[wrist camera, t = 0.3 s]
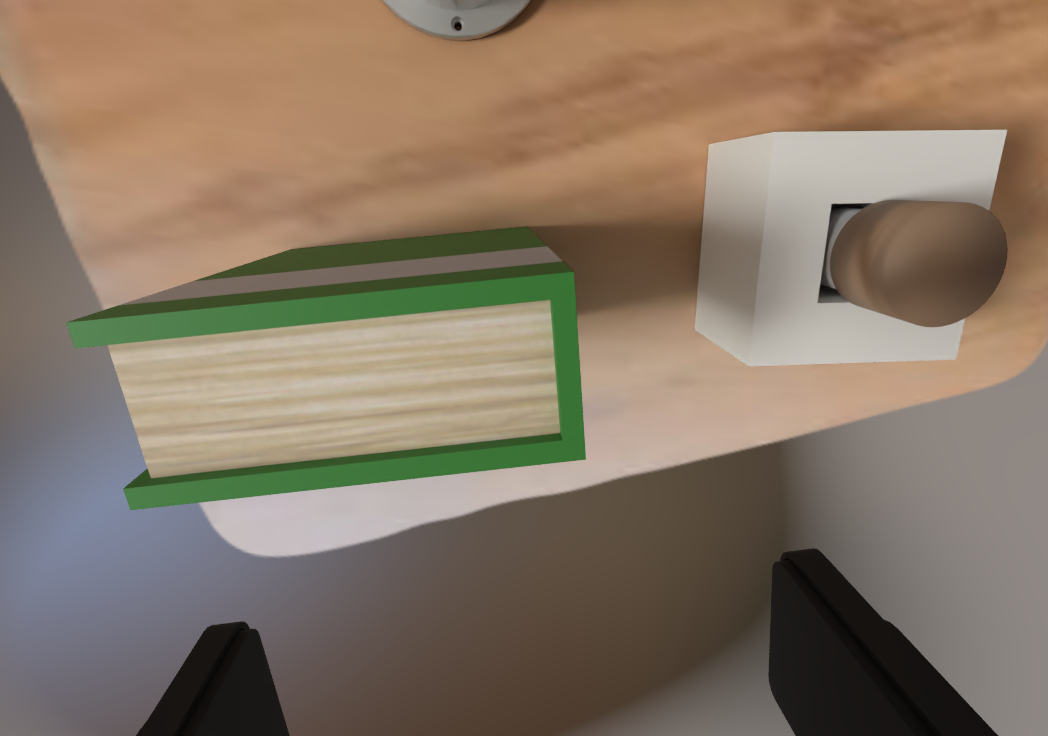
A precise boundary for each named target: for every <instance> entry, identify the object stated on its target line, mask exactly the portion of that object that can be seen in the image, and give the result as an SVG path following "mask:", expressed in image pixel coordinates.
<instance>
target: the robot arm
mask: <svg viewBox="0 0 1048 736" xmlns="http://www.w3.org/2000/svg"><path fill="white" fill-rule="evenodd" d="M382 1H383V2H384V3H385V4H386V5H387V6H388V7H389V9H390V10H391V11H392V12H393V13H394V14H395V15H396V16H397V17H399V18H400V19H401V20H403V21H404V22H405V23H407V24H408V25H409V26H411V27H412V28H414V29H416V30H418V31H420V32H422V33H424V34H426V35H429V36H433V37H437V38H440V39H444V40H458V41H465V40H471V39H477V38H482V37H484V36H487V35H489V34H492V33H494V32H497V31H499V30H500V29H502V28H503V27H505V26H506V25H508V24H509V23H511V22H512V21H513V20H514V19H515V18H516V17H517V16H518V15H519V14H520V13H521V12H522V11H523V10H524V9H525V8H526V7H527V5H528V4H529V2H530V1H531V0H382ZM457 23H459V24H461V25H462V29H461V30H459V31H457V30H455V29H454V26H455V24H457ZM769 651H770V652H769V683H770V687H771V691H772V693H773V696H774V698H775V700H776V702H777V704H778V705H779V707H780V709H781V710H782V713H783V714H784V716H785V718H786V720H787V721H788V723H789V725H790V727H791V728H792V730H793V732H794V734H795V735H796V736H998V735H997V734H996V733H995V732H994V731H993V730H992V729H991V728H990V727H989V726H988V724H987V723H986V722H985V721H984V720H983V719H982V718H981V717H980V716H979V715H978V714H977V713H976V712H975V711H974V710H973V708H972V707H970V705H969V704H968V703H967V702H966V701H965V700H964V699H963V698H962V697H961V696H960V695H959V694H958V692H957V691H956V690H955V689H954V688H953V687H952V686H951V685H950V684H949V683H948V682H947V681H946V680H945V679H944V678H943V677H942V675H941V674H940V673H939V672H938V671H937V670H936V669H935V668H934V667H933V666H932V665H931V664H930V663H929V662H928V660H927V659H926V658H925V657H924V656H923V655H922V654H921V653H920V652H919V651H918V650H917V649H916V648H915V647H914V646H913V645H912V643H911V642H910V641H909V640H908V639H907V638H906V637H905V636H904V635H903V634H902V633H901V632H900V631H899V630H898V629H897V628H896V627H895V626H894V625H893V624H891V623H890V622H888V621H886V620H883V619H882V617H881V616H880V615H879V614H878V613H877V612H876V611H875V610H874V609H873V608H872V607H871V606H870V604H869V603H868V602H867V601H866V600H865V599H864V598H863V597H862V596H861V595H860V594H859V593H858V591H856V589H855V588H854V587H853V586H852V585H851V584H850V583H849V582H848V581H847V580H846V579H845V577H844V576H843V575H842V574H841V573H840V572H839V571H838V570H837V569H836V568H835V567H834V566H833V564H832V563H831V562H830V561H829V560H828V559H827V558H826V557H825V556H824V555H823V554H822V553H821V552H820V551H819V550H818V549H814V548H813V549H805V550H797V551H790V552H785V553H783V554H782V556H781V560H780V561H778V562H775V563H774V564H773V570H772V596H771V623H770V650H769ZM136 736H289V732H288V729H287V726H286V722H285V719H284V716H283V712H282V709H281V706H280V702H279V699H278V695H277V692H276V689H275V685H274V682H273V679H272V675H271V672H270V669H269V665H268V662H267V659H266V655H265V652H264V648H263V645H262V642H261V638H260V635H259V633H258V631H257V630H256V629H250V628H249V626H248V624H246V623H245V622H234V623H227V624H219V625H211V626H209V627H207V629H206V630H205V631H204V632H203V634H202V635H201V637H200V639H199V640H198V642H197V643H196V645H195V646H194V648H193V649H192V651H191V653H190V654H189V656H188V657H187V659H186V660H185V662H184V664H183V665H182V667H181V668H180V670H179V671H178V673H177V675H176V676H175V678H174V679H173V681H172V683H171V684H170V686H169V687H168V689H167V690H166V692H165V693H164V695H163V697H162V698H161V700H160V701H159V703H158V705H157V706H156V708H155V709H154V711H153V713H152V714H151V716H150V717H149V719H148V720H147V722H146V723H145V724H144V726H143V727H142V728H141V729H140V730H139V732H138V734H137V735H136Z"/></svg>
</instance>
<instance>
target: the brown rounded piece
mask: <svg viewBox="0 0 1048 736" xmlns="http://www.w3.org/2000/svg"><path fill="white" fill-rule="evenodd" d="M1006 260H1007V240H1006V236H1005V232H1004V230H1003V227H1002V225H1001V224H1000V222H999V220H998V219H997V218H996V217H995V216H994V215H993V214H992V213H991V212H990V211H989V210H987V209H985V208H984V207H982V206H979V205H977V204H973V203H968V202H944V201H913V200H885V201H880V202H877V203H874V204H871V205H869V206H867V207H865V208H863V209H856V208H838V207H831V211H830V218H829V225H828V232H827V239H826V246H825V253H824V261H823V268H822V275H821V282H820V285H823V286H827V287H830V288H833V289H837V291H838V292H839V294H840V295H841V296H842V297H843V298H844V299H846V300H847V301H848V302H850V303H852V304H854V305H856V306H859V307H862V308H865V309H868V310H871V311H875V312H878V313H881V314H884V315H887V316H890V317H893V318H896V319H900V320H903V321H906V322H909V323H912V324H915V325H918V326H923V327H942V326H947V325H950V324H953V323H956V322H958V321H960V320H963V319H965V318H966V317H968V316H969V315H971V314H972V313H974V312H975V311H976V310H978V309H979V308H980V307H981V306H982V305H983V304H984V303H985V302H986V301H987V300H988V298H989V297H990V296H991V295H992V293H993V292H994V290H995V289H996V287H997V285H998V284H999V282H1000V280H1001V277H1002V275H1003V272H1004V269H1005V265H1006Z"/></svg>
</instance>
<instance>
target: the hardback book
mask: <svg viewBox="0 0 1048 736" xmlns="http://www.w3.org/2000/svg"><path fill="white" fill-rule="evenodd" d="M66 324H67V327H68V330H69V333H70V336H71V339H72V342H73V345H74V347H75V348H83V347H94V346H103V345H108V348H109V351H110V354H111V357H112V360H113V363H114V366H115V369H116V372H117V376H118V379H119V382H120V385H121V388H122V391H123V394H124V397H125V400H126V403H127V406H128V410H129V413H130V415H131V419H132V422H133V425H134V428H135V431H136V434H137V437H138V440H139V443H140V446H141V449H142V453H143V456H144V459H145V462H146V465H147V468H148V469H146V470H145V471H144V472H143V473H142V474H140V475H139V476H138V477H137V478H136V479H134V480H133V481H132V482H131V483H130V484H128V485H127V486H126V487H125V488H124V489H123V490H124V493H125V495H126V498H127V501H128V504H129V507H130V510H137V509H145V508H154V507H163V506H172V505H181V504H190V503H199V502H208V501H217V500H226V499H235V498H244V497H253V496H262V495H271V494H280V493H289V492H298V491H307V490H316V489H325V488H334V487H343V486H352V485H361V484H370V483H379V482H388V481H397V480H406V479H415V478H424V477H433V476H442V475H451V474H459V473H468V472H477V471H486V470H495V469H504V468H513V467H522V466H531V465H540V464H549V463H558V462H567V461H576V460H585V459H586V455H585V439H584V423H583V407H582V392H581V376H580V360H579V344H578V328H577V312H576V296H575V281H574V271H573V270H572V269H571V268H570V267H569V266H568V265H566V264H565V263H564V262H563V261H562V260H561V259H560V258H559V257H558V256H557V255H556V254H555V253H554V252H553V251H552V250H551V249H550V248H549V247H548V246H547V245H546V244H545V243H544V242H543V241H542V240H541V239H540V238H539V237H537V236H536V235H535V234H534V233H533V232H532V231H531V230H530V229H529V228H528V227H516V228H506V229H496V230H485V231H475V232H465V233H455V234H444V235H434V236H424V237H413V238H403V239H393V240H383V241H372V242H362V243H352V244H342V245H331V246H321V247H311V248H300V249H291V250H288V251H285V252H281V253H278V254H275V255H272V256H269V257H266V258H263V259H260V260H257V261H254V262H251V263H248V264H245V265H242V266H238V267H235V268H232V269H229V270H226V271H223V272H220V273H217V274H214V275H211V276H208V277H205V278H202V279H198V280H195V281H192V282H189V283H186V284H183V285H180V286H177V287H174V288H171V289H168V290H165V291H162V292H159V293H155V294H152V295H149V296H146V297H143V298H140V299H137V300H134V301H131V302H128V303H125V304H122V305H119V306H116V307H112V308H109V309H106V310H103V311H100V312H97V313H94V314H91V315H88V316H85V317H82V318H79V319H76V320H73V321H70V322H66Z"/></svg>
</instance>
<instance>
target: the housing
mask: <svg viewBox="0 0 1048 736" xmlns="http://www.w3.org/2000/svg"><path fill="white" fill-rule="evenodd" d="M1006 133H1007V130H930V131H824V132H771V133H766V134H761V135H756V136H750V137H745V138H740V139H734V140H729V141H724V142H719V143H713V144H709V150H708V163H707V175H706V188H705V201H704V214H703V227H702V240H701V252H700V265H699V278H698V291H697V304H696V316H695V329H694V330H696V331H697V332H699V333H700V334H702V335H703V336H705V337H706V338H708V339H709V340H711V341H712V342H714V343H715V344H716V345H718V346H719V347H721V348H722V349H724V350H725V351H727V352H728V353H730V354H731V355H733V356H734V357H736V358H737V359H739V360H740V361H741V362H743V363H744V364H746V365H747V366H772V365H802V364H832V363H862V362H892V361H922V360H952V359H956V357H957V353H958V348H959V344H960V339H961V335H962V330H963V326H964V322H965V319H963V320H960V321H958V322H956V323H953V324H950V325H947V326H942V327H923V326H918V325H915V324H912V323H909V322H906V321H903V320H900V319H896V318H893V317H890V316H887V315H884V314H881V313H878V312H875V311H871V310H868V309H865V308H862V307H859V306H856V305H854V304H852V303H850V302H848V301H847V300H846V299H844V298H843V297H842V296H841V295H840V294H839V292H838V291H837V289H833V288H830V287H827V286H823V285H820V282H821V275H822V268H823V261H824V253H825V246H826V239H827V232H828V225H829V218H830V211H831V207H838V208H856V209H863V208H865V207H867V206H869V205H871V204H874V203H877V202H880V201H885V200H913V201H944V202H968V203H973V204H977V205H979V206H982V207H984V208H985V209H987V210H990V205H991V201H992V196H993V192H994V187H995V183H996V178H997V174H998V169H999V165H1000V160H1001V156H1002V151H1003V147H1004V142H1005V138H1006Z"/></svg>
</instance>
